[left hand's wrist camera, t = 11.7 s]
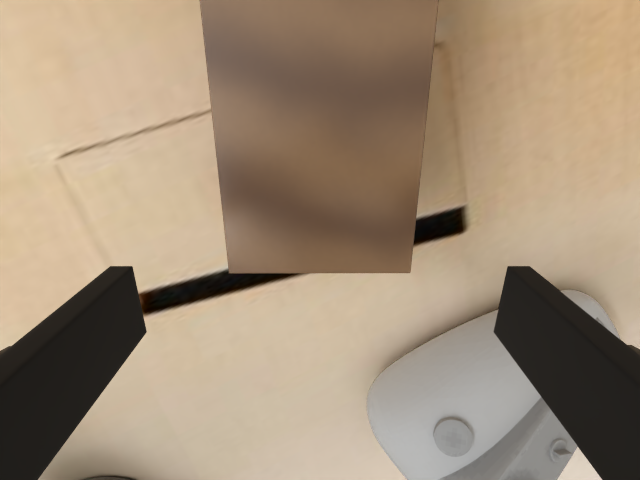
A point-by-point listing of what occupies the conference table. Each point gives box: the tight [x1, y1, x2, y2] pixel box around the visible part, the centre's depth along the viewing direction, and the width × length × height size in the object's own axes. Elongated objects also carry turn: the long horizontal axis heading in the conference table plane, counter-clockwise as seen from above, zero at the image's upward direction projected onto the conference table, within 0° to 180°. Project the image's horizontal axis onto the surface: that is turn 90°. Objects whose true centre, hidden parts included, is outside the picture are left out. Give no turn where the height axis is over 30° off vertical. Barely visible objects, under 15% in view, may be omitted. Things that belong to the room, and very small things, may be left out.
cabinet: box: [200, 0, 439, 273], centre depth 22 cm, size 20×10×12 cm, turn 0°
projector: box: [367, 290, 620, 480], centre depth 30 cm, size 22×23×15 cm
